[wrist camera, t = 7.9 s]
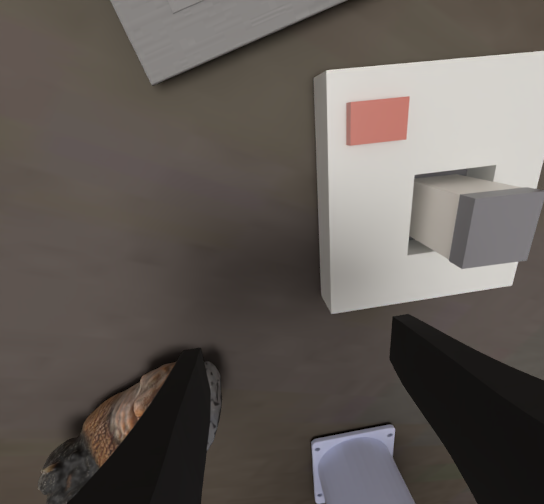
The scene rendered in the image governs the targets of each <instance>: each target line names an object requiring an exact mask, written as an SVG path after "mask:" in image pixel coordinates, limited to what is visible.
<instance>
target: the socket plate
mask: <svg viewBox="0 0 544 504" xmlns="http://www.w3.org/2000/svg"><path fill="white" fill-rule="evenodd" d="M313 79H314V107H315V136H316V165H317V193H318V222H319V250H320V279H321V296H322V298H323V300H324V302H325V304H326V305H327V307H328V309H329V311H330V313H331V314H335V313H342V312H348V311H354V310H360V309H367V308H373V307H379V306H386V305H392V304H398V303H404V302H411V301H417V300H423V299H430V298H436V297H442V296H448V295H455V294H461V293H467V292H474V291H480V290H486V289H492V288H499V287H505V286H511V285H512V284H513V280H514V276H515V272H516V268H517V264H518V262H511V263H504V264H496V265H489V266H481V267H474V268H467V269H461V268H459V267H458V266H456V265H454V264H453V263H451V262H449V259H447V258H445V257H444V256H442V255H440V254H439V253H437V252H435V251H434V250H432V249H430V248H429V247H427V246H425V245H424V244H422V243H420V242H419V241H417V240H415V239H414V238H412V237H410V236H409V232H410V221H411V209H412V198H413V187H414V179H415V178H425V177H434V176H444V175H454V174H458V175H463V176H468V177H473V178H478V179H483V180H488V181H493V182H498V183H502V184H507V185H512V186H517V187H522V188H524V187H529V188H534V189H536V188H537V184H538V180H539V176H540V172H541V168H542V164H543V160H544V51H538V52H527V53H515V54H504V55H493V56H482V57H470V58H459V59H448V60H437V61H425V62H414V63H403V64H392V65H380V66H369V67H358V68H347V69H335V70H326V71H324V72H323V73H321V74H319V75H318V76H316V77H314V78H313Z"/></svg>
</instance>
